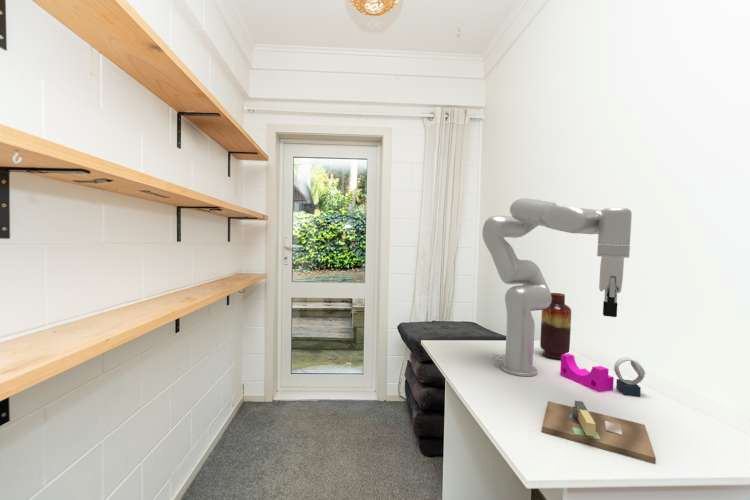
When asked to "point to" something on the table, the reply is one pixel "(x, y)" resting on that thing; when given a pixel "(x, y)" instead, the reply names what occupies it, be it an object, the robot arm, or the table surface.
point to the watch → (629, 385)
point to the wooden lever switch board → (600, 432)
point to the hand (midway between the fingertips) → (609, 315)
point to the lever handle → (584, 418)
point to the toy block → (586, 374)
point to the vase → (556, 327)
